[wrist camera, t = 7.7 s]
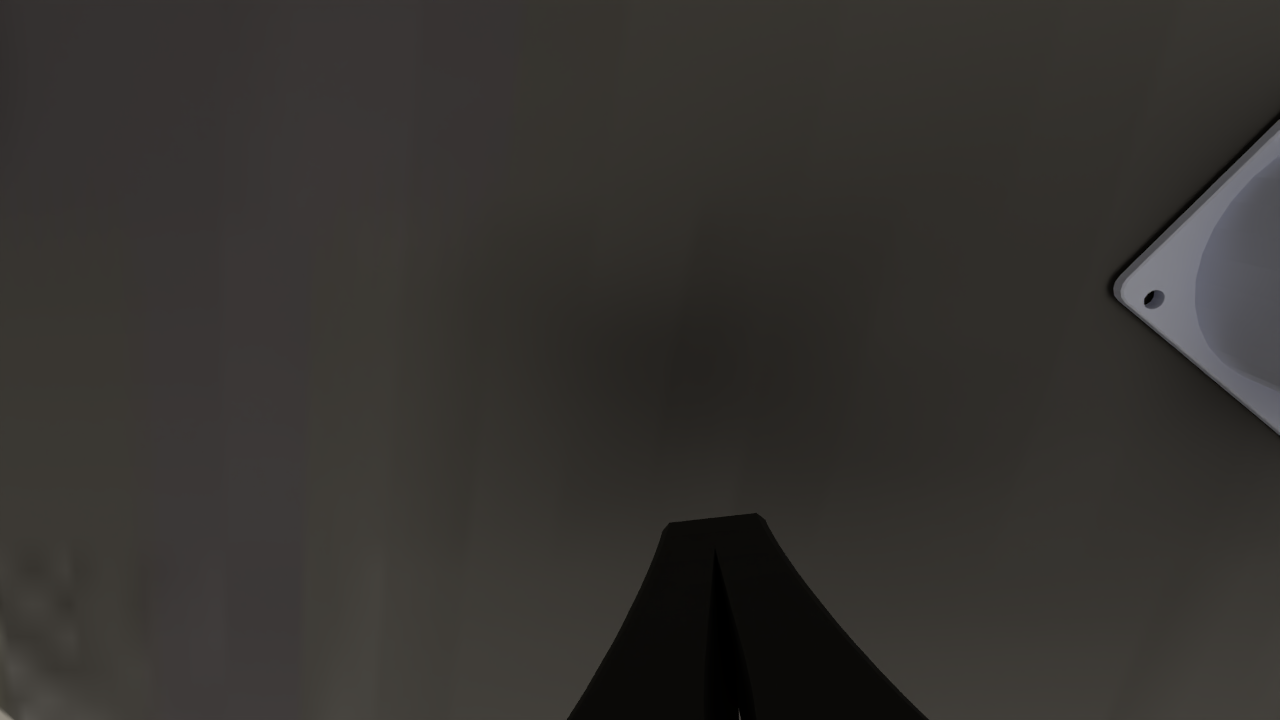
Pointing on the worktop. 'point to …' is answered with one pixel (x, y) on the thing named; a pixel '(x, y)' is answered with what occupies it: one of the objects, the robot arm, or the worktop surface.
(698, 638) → the robot arm
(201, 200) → the worktop surface
